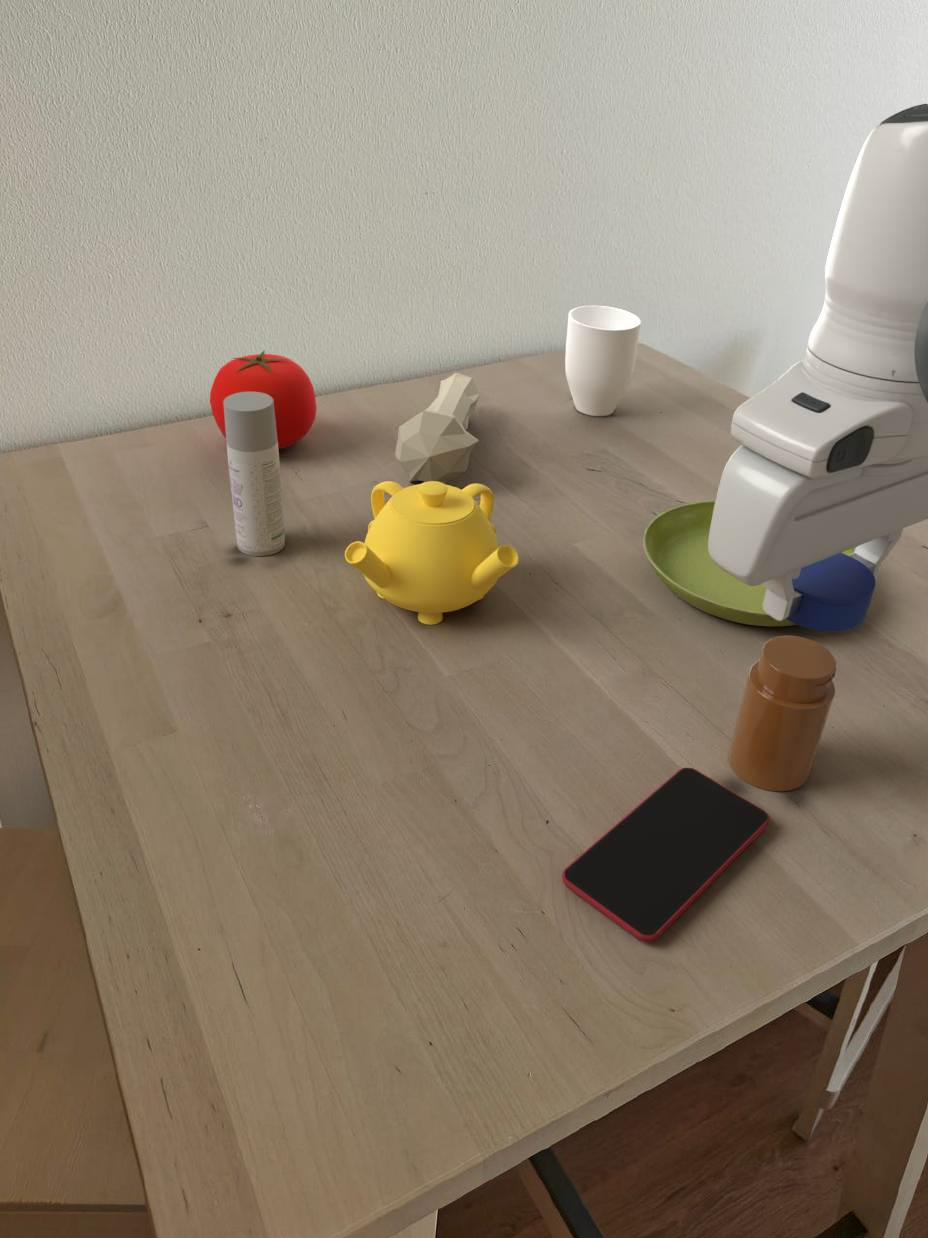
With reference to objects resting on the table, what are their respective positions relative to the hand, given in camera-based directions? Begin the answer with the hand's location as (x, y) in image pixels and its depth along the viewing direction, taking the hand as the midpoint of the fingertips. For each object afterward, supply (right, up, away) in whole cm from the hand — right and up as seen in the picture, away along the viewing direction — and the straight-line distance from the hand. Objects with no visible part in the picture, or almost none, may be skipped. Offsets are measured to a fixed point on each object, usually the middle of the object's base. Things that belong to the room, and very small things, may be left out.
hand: (818, 597), depth 67 cm
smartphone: (-10, -17, +1) cm, 20 cm away
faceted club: (-25, +19, +51) cm, 60 cm away
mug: (-7, +26, +64) cm, 69 cm away
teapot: (-27, 0, +25) cm, 37 cm away
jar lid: (0, +1, -1) cm, 2 cm away
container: (-44, +6, +32) cm, 55 cm away
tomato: (-47, +19, +50) cm, 71 cm away
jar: (-1, -12, +9) cm, 15 cm away
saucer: (+4, +2, +30) cm, 30 cm away
